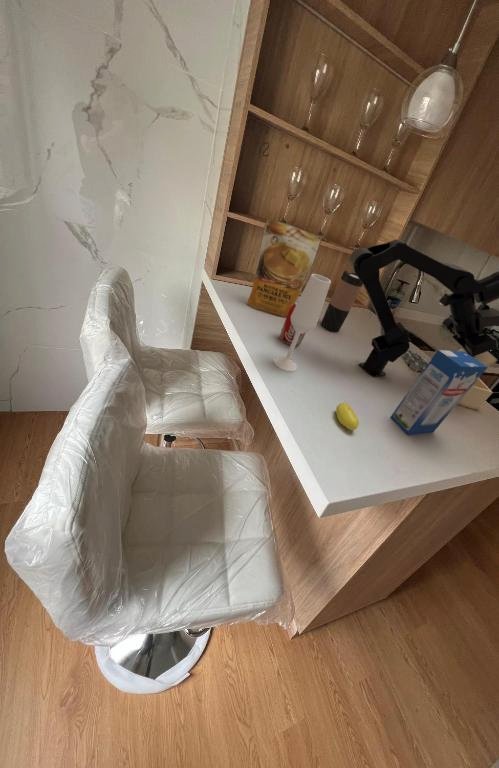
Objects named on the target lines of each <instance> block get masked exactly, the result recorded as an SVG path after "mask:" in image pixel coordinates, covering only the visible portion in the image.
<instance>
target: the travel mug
mask: <svg viewBox="0 0 499 768" xmlns="http://www.w3.org/2000/svg"><path fill="white" fill-rule="evenodd" d="M362 286H364V285H363V283H362V282H361V281H360V279H359V278H358V276H357V275H356V273H355V272H351V273H350V272H348V271H347V270H344V271H343V272H342V275H341V277H340V279H339V281H338V284H337V286H336V288H335V290H334V292H333V294H332V296H331V298H330V301H329V303H328V306H327V308H326V310H325V313H324V314H323V317H322V320H321V322H320V326H321V327H322V328H323V329H324V330H326V331H327V332H328V331H329V332H331V333H339V331H340V330H341V328H342V326H343V325H344V323H345V320H346V319H347V318H348V315H349V313H350V311H351V310H352V307H353V305H354V303H355V301H356V298H357V297H358V295H359V294H360V291H361V290H362Z"/></svg>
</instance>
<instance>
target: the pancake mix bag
mask: <svg viewBox="0 0 499 768" xmlns="http://www.w3.org/2000/svg"><path fill="white" fill-rule="evenodd" d="M265 221H266V222H265V225H264V229H263V233H262V236H261V237H262V238H261V239H262V240H261V245H260V248H259V253H258V259H257V263H256V264H257V265H256V270H255V275H254V277H253V280H252V281H253V282H252V288H251V292H250V294H249V297H248V298H247V301H246V302H245V304H246V305H248V306H250V307H251V308H252V309H256V310H258V311H261V312H264V313H268V314H271V315H274V316H277V317H281V318H286V317H287V315H288V312H289V310H290V307H291V306H292V305H293V304H295V301H298V300H299V299H298V298H299V297H300V294H301V293H302V289H304V286H305V283H306V282H307V280H308V277H309V275H310V273H311V272H312V269H313V265H314V263H315V260H316V256H317V254H318V252H319V250H320V247H321V243H322V239H320V238H319V237H320V235H319V234H316V233H313V232H310V231H307V230H303V229H301V228H299V227H296V226H294V225H291V224H288V223H285V222H284V221H283V222H282V221H278V220H275V219H267V220H265Z"/></svg>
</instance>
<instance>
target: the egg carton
mask: <svg viewBox="0 0 499 768" xmlns="http://www.w3.org/2000/svg"><path fill="white" fill-rule="evenodd" d="M401 356H402V357H401V358H402V359H403V360H405V363H406V364H408V365H409V368H410V370H413V371H415V372H421V373H422V372H423V370H424V369H425V367H426V366H427V365H428V363H429V362H430V360H429V361H428V360H427V359H425V358H424V357H422V355H421V353H418V352H417V351H415V350H412V349H410V348H409V349H408V351H407V352H406V353H405V354H403V355H401Z"/></svg>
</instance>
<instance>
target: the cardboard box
mask: <svg viewBox="0 0 499 768" xmlns="http://www.w3.org/2000/svg"><path fill="white" fill-rule="evenodd" d="M493 393H494V392H493V391H492V390H491V389H490V388H489V387H488V386H487V385H486V383H484V381H482V380H481V378H480V377H479V378H478V380H477V381H476V382H475V383H474V384H473V386H472V387H471V388H470V389H469V390H468V392H467V393H466V394H465V395H464V396H463V398H462V399H461V400H460V401H459V402H458V403H457V405H458V406H462V407H465V408H468V409H471V410H474V411H475V410H476V411H478V410H479V409H480V407H481V406H482V405H483V404H484V403H485V402H486V401H487V400H488V398H490V396H491V395H492V394H493ZM457 405H456V406H457Z"/></svg>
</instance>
